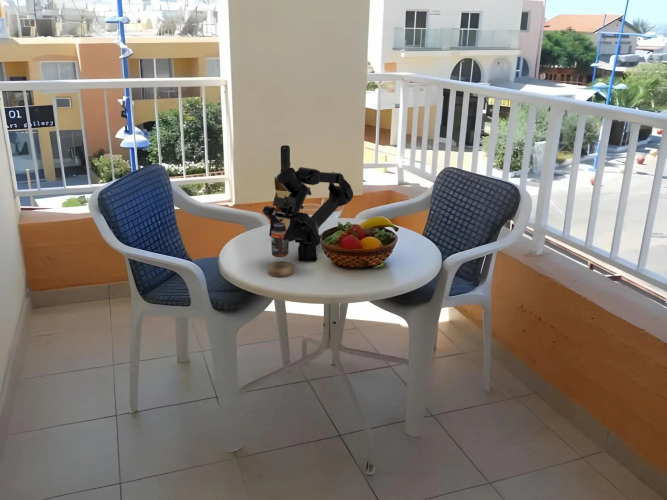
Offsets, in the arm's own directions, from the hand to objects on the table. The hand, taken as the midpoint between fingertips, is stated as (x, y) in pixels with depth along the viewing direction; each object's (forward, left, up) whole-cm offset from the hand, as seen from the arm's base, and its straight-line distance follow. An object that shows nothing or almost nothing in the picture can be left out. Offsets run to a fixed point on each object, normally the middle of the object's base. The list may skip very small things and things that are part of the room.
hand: (277, 237), depth 198 cm
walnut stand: (-1, -1, -13) cm, 13 cm away
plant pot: (-34, -10, -13) cm, 38 cm away
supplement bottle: (0, -1, -7) cm, 7 cm away
